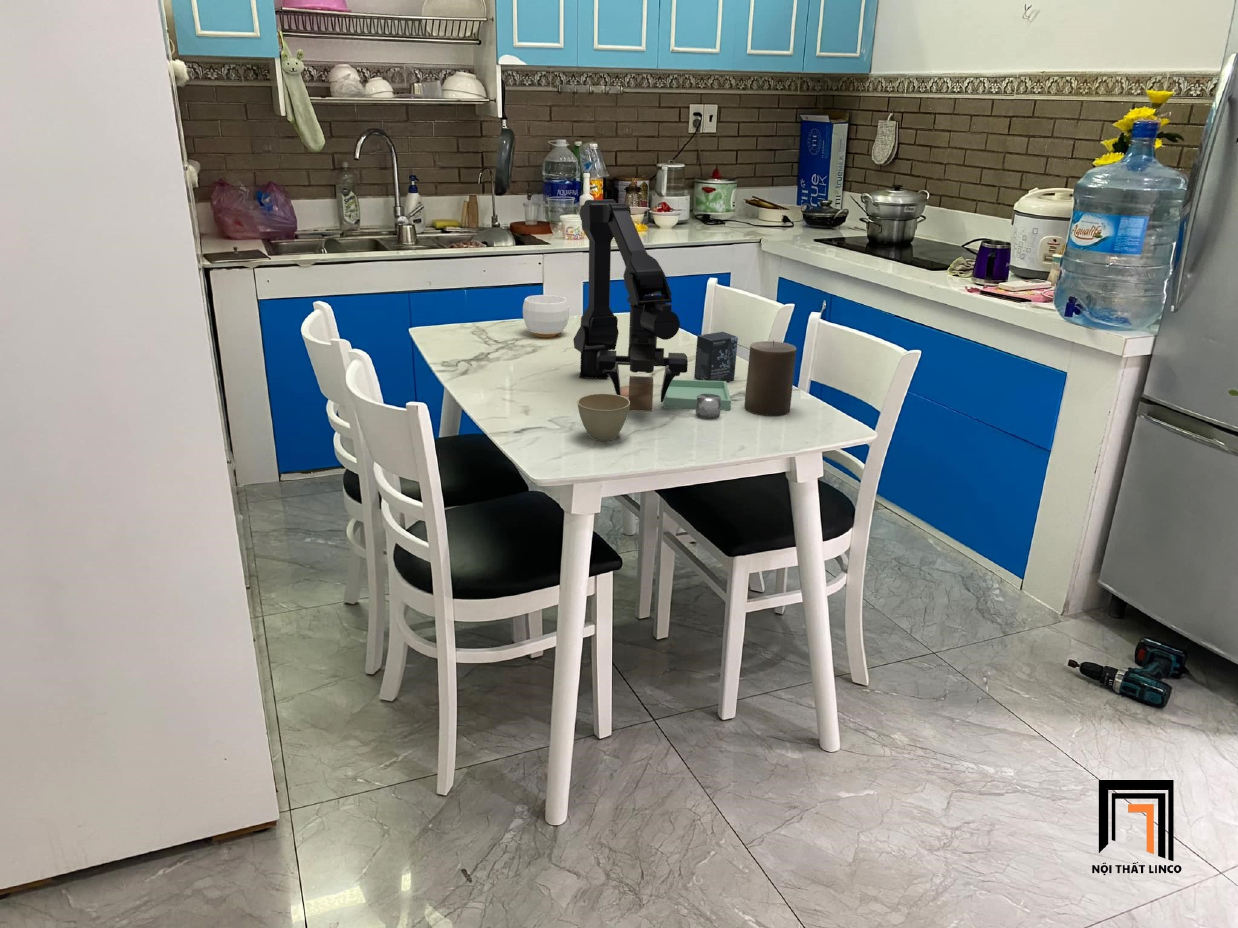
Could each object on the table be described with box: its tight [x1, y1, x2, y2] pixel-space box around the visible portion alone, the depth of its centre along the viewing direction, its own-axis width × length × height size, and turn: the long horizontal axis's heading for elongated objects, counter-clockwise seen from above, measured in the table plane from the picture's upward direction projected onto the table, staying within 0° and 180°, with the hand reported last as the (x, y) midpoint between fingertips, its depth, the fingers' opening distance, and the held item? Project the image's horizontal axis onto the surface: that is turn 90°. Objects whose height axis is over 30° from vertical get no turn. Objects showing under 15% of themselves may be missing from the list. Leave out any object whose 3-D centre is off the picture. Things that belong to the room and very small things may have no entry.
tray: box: [663, 378, 732, 411], centre depth 204 cm, size 14×14×2 cm
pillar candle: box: [744, 339, 797, 417], centre depth 196 cm, size 10×10×15 cm
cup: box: [522, 294, 570, 338], centre depth 250 cm, size 12×12×10 cm
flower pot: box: [576, 392, 630, 442], centre depth 179 cm, size 10×10×7 cm
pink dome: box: [620, 385, 629, 398], centre depth 207 cm, size 7×7×1 cm
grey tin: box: [695, 394, 721, 421], centre depth 193 cm, size 5×5×4 cm
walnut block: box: [628, 375, 654, 412], centre depth 197 cm, size 5×5×6 cm
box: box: [693, 331, 739, 382], centre depth 216 cm, size 8×6×11 cm
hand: (640, 400), depth 197 cm, fingers open, 9 cm apart
